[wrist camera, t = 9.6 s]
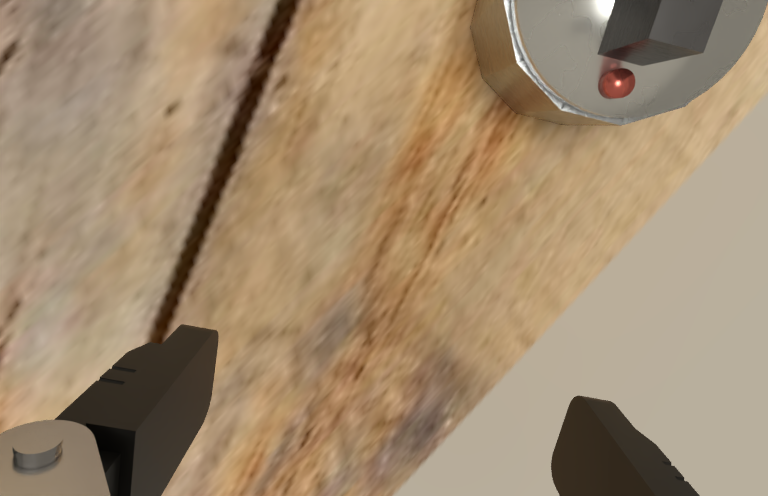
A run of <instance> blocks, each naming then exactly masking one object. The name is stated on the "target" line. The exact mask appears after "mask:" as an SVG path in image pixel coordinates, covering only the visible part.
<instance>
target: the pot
mask: <svg viewBox="0 0 768 496" xmlns="http://www.w3.org/2000/svg"><path fill="white" fill-rule="evenodd" d="M470 28H471V32H472V36H473V41H474V45H475V49H476V53H477V58H478V62H479V66H480V71H481V75H482V78H483V79H484V80H485V81H486V82H487V84H488V85H489V86H490V87H491V88H492V89H493V90H494V91H495V92H496V93H497V94H498V95H499V96H500V97H501V98H502V99H503V100H504V101H505V102H506V104H507V105H508V106H509V107H510V108H511V109H512V110H513V111H514V112H515V113H517V114H521V115H525V116H529V117H533V118H537V119H541V120H545V121H549V122H553V123H557V124H561V125H620V126H622V125H625V124H628V123H631V122H635V121H638V120H641V119H645V118H648V117H651V116H655V115H658V114H655V115H651V116H644V117H634V118H612V117H602V116H596V115H591V114H588V113H585V112H582V111H579V110H577V109H575V108H573V107H571V106H569V105H567V104H565V103H563V102H562V101H560V100H559V99H558V98H556V97H555V96H553V95H552V94H551V93H550V92H549V91H548V90H547V89H546V88H545V87H544V86H543V85H542V84H541V83H540V82H539V81H538V79H537V78H536V77H535V76H534V74H533V73H532V71H531V70H530V68H529V66H528V65H527V63H526V61H525V60H524V57H523V55H522V53H521V50H520V48H519V46H518V42H517V38H516V35H515V31H514V26H513V19H512V11H511V0H477V3H476V7H475V11H474V15H473V18H472V22H471V26H470ZM689 102H690V101H689ZM689 102H687V103H685V104H684V105H682V106H680V107H677V108H674V109H672V110H675V109H678V108H682V107H685V106H686V105H687V104H688V103H689ZM672 110H669V111H672ZM666 112H668V111H666ZM664 113H665V112H664ZM659 114H662V113H659Z"/></svg>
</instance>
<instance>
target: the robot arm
mask: <svg viewBox="0 0 768 496" xmlns="http://www.w3.org/2000/svg"><path fill="white" fill-rule="evenodd" d="M217 348H218V332H217V330H211V329H206V328H200V327H194V326H189V325H180V326H179V327H178V328H177V329H176V330H175V331H174V332H173V333H172V334H171V335H170V336H169V337H168V338H167V339H166V341H165V342H164V343H163V344H157V343H151V342H150V343H147V344H145V345H143V346H141V347H138V348H136V349H134V350H131V351H129V352H127V353H126V354H125V355H124V356H123V357H122V358H121V359H120V360H118V361H117V362H116V363H115V364H114V365H113V366H112V369H109V370H108V371H107V372H105V373H104V374H103V375H102V376H101V377H100V380H99V381H96V382H95V383H93V384H92V385H91V386H90V387H89V388H88V389H87V390H86V391H85V392H84V393H83V394H82V395H80V396H79V397H78V398H77V399H76V400H75V401H74V402H73V403H72V404H71V405H70V406H69V407H67V408H66V409H65V410H64V411H63V412H62V413H61V414H60V415H59V416H58V417H57V418H56V419H54V420H44V421H37V422H32V423H27V424H24V425H20V426H17V427H14V428H12V429H10V430H7V431H5V432H3V433H1V434H0V496H161V495H162V493H163V491H164V490H165V488H166V486H167V485H168V483H169V481H170V479H171V478H172V476H173V474H174V473H175V471H176V469H177V467H178V466H179V464H180V462H181V460H182V459H183V457H184V455H185V454H186V452H187V450H188V448H189V447H190V445H191V443H192V442H193V440H194V438H195V436H196V435H197V433H198V431H199V429H200V428H201V426H202V424H203V422H204V420H205V417H206V415H207V412H208V409H209V405H210V401H211V396H212V388H213V380H214V372H215V364H216V356H217ZM551 470H552V477H553V481H554V484H555V487H556V489H557V491H558V493H559V495H560V496H699V495H698V493H697V492H696V491H695V490H694V489H693V488H692V486H691V485H690V484H689V483H688V482H686V481H684V477H683V476H682V475H681V473H680V472H679V471H678V470H677V469H676V468H675V466H671V462H670V461H669V459H668V458H667V457H666V456H665V455H664V453H663V452H662V451H661V450H660V449H659V448H658V446H657V445H656V444H654V443H653V442H652V441H650V440H649V439H648V438H647V437H645V436H644V435H643V434H641V433H640V432H639V431H638V430H636V429H635V428H634V427H633V426H632V424H631V423H630V422H629V421H628V419H627V418H626V417H625V416H624V415H623V414H622V412H621V411H620V410H619V409H618V407H617V406H616V405H615V404H614V403H612V402H611V401H606V400H600V399H594V398H589V397H584V396H576V397H574V398H573V399H572V401H571V403H570V405H569V407H568V410H567V413H566V416H565V419H564V422H563V425H562V428H561V431H560V434H559V437H558V440H557V443H556V446H555V449H554V452H553V456H552V463H551Z"/></svg>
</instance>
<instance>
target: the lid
mask: <svg viewBox="0 0 768 496" xmlns="http://www.w3.org/2000/svg"><path fill="white" fill-rule="evenodd" d="M767 3H768V0H511V11H512V19H513V26H514V31H515V35H516V38H517V42H518V46H519V48H520V50H521V53H522V55H523V57H524V60H525V61H526V63H527V65H528V66H529V68H530V70H531V71H532V73H533V74H534V76H535V77H536V78H537V79H538V81H539V82H540V83H541V84H542V85H543V86H544V87H545V88H546V89H547V90H548V91H549V92H550V93H551V94H552V95H553V96H555V97H556V98H558V99H559V100H560V101H562V102H563V103H565V104H567V105H569V106H571V107H573V108H575V109H577V110H579V111H582V112H585V113H588V114H591V115H596V116H602V117H612V118H634V117H644V116H651V115H655V114H659V113H664V112H666V111H669V110H672V109H674V108H677V107H680V106H682V105H684V104H685V103H687V102H689V101H691V100H693V99H695V98H696V97H698V96H699V95H701V94H702V93H704V92H705V91H707V90H708V89H710V88H711V87H712V86H713V85H714V84H715V83H717V82H718V81H719V80H720V79H721V78H722V77H723V76H724V75H725V74H726V73H727V72H728V71H729V70H730V69H731V68H732V67H733V66H734V65H735V63H736V62H737V61H738V59H739V58H740V57H741V55H742V54H743V53H744V51H745V50H746V48H747V47H748V45H749V43H750V42H751V40H752V38H753V37H754V35H755V33H756V31H757V29H758V26H759V24H760V22H761V20H762V18H763V15H764V12H765V9H766V6H767Z"/></svg>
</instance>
